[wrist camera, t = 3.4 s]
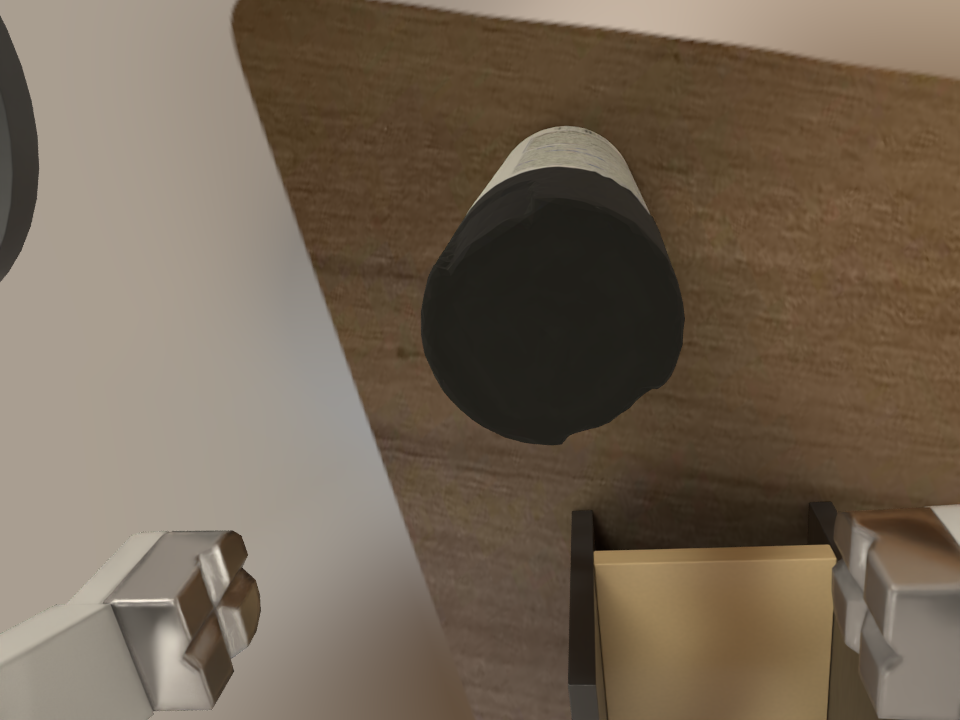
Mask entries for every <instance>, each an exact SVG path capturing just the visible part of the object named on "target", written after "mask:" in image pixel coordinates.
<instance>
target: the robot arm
mask: <svg viewBox="0 0 960 720" xmlns="http://www.w3.org/2000/svg"><path fill="white" fill-rule="evenodd" d="M834 541H835V543H836V545H837V547H838V549H839V551H840V553H841V555H842V558H841V559H840V560H839V561H838V562H837V563H836V564H835V565H834V567H833V568H832V583H831V592H832V599H833V607H834V614H835V617H836V620H837V624H838V627H839V630H840V633H841V635H842V637H843V640H844V642H845V645H847V646H848V647H850V648H851V649H853V650H854V651H855V652H857V653H858V654H859V665H858V674H859V676H860V679H861V681H862V683H863V685H864V687H865V690H866V692H867V694H868V696H869V699H870V701H871V703H872V705H873V707H874V710H875V712H876V714H877V716H878V718H881V719H907V720H960V504H956V505H940V506H925V507H921V508H900V509H879V510H858V511H838V513H837V516H836V520H835V525H834ZM247 556H248V554H247V550H246V547H245V545H244V542H243V539H242V536H241V535H239V534H238V533H236V532H234V531H172V532H167V531H159V532H141V533H138V534H135V535H132V536H131V537H130V538H129V539H128V540H127V541H126V542H125V543H124V544H123V545H122V546H121V547H120V548H119V549H118V550H117V551H116V552H115V553H114V554H113V555H112V557H111V558H110V559H109V560H108V561H107V562H106V563H105V564H104V565H103V566H102V567H101V568H100V569H99V570H98V571H97V572H96V573H95V574H94V575H93V576H92V578H90V580H89V581H88V582H87V583H86V584H85V585H84V586H83V587H82V588H81V589H80V590H79V591H78V592H77V593H76V594H75V595H74V596H73V597H72V598H71V599H70V600H69V602H68V603H67V604H61V605H54V606H52V607H51V608H48V609H47V610H45V611H43V612H41V613H39V614H37V615H35V616H33V617H31V618H29V619H27V620H26V621H24V622H22V623H20V624H18V625H16V626H14V627H12V628H10V629H8V630H6V631H5V632H3V633H1V634H0V720H148V719H149V718H150V717H151V716H152V715H153V714H154V713H153V711H182V710H183V711H185V710H212V709H213V707H214V705H215V704H216V702H217V700H218V698H219V697H220V695H221V693H222V691H223V690H224V688H225V686H226V684H227V683H228V681H229V679H230V677H231V676H232V674H233V672H234V670H233V666H232V662H231V658H233V657H234V656H236V655H237V654H239V653H240V652H241V651H243V650H244V649H246V648H247V647H248V646H249V644H250V642H251V640H252V638H253V636H254V635H255V633H256V631H257V626H258V621H259V617H260V612H261V607H260V594H259V590H258V586H257V583H256V580H255V579H254V578H253V577H252V576H251V575H250V574H248V573H247V572H246V571H245V570H244V569H243V568H242V567H243V565H244V562H245V560H246V558H247Z"/></svg>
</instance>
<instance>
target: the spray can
mask: <svg viewBox="0 0 960 720" xmlns="http://www.w3.org/2000/svg"><path fill="white" fill-rule="evenodd" d="M684 321H685V317H684V308H683V301H682V297H681V293H680V289H679V285H678V281H677V278H676V276H675V273H674V270H673V268H672V265H671V262H670V260H669V257H668V254H667V251H666V249H665V246H664V243H663V240H662V238H661V235H660V232H659V230H658V227H657V225H656V223H655V221H654V219H653V217H652V216H651V215H650V213H649V211H648V208H647V206H646V204H645V202H644V200H643V198H642V196H641V193H640V192H639V189H638V187H637V185H636V183H635V181H634V179H633V176H632V174H631V172H630V170H629V168H628V166H627V164H626V162H625V160H624V159H623V157H622V155H621V154H620V153H619V151H618V150H617V149H616V148H615V147H614V146H613V145H612V144H611V143H610V142H609V141H608V140H607V139H605V138H603V137H602V136H600V135H598V134H596V133H595V132H593V131H590V130H587V129H584V128H579V127H572V126H560V127H553V128H549V129H545V130H542V131H540V132H537V133H535V134H533V135H531V136H530V137H528V138H526V139H525V140H524V141H522V142H521V143H520V144H519V145H518V146H517V147H516V148H515V149H514V150H513V151H512V152H511V153H510V154H509V156H508V157H507V159H506V160H505V162H504V163H503V165H502V166H501V167H500V169H499V170H498V171H497V173H496V174H495V175H494V177H493V178H492V180H491V181H490V182H489V184H488V185H487V186H486V188H485V189H484V191H483V192H482V193H481V195H480V196H479V197H478V199H477V200H476V201H475V203H474V204H473V205H472V207H471V208H470V210H469V211H468V213H467V215H466V216H465V218H464V220H463V221H462V223H461V224H460V226H459V227H458V229H457V231H456V232H455V234H454V235H453V237H452V238H451V240H450V242H449V243H448V245H447V247H446V248H445V250H444V251H443V253H442V254H441V256H440V257H439V259H438V260H437V262H436V264H435V265H434V266H433V268H432V270H431V272H430V274H429V277H428V280H427V284H426V289H425V293H424V298H423V304H422V310H421V336H422V343H423V348H424V353H425V356H426V358H427V361H428V363H429V365H430V367H431V369H432V371H433V374H434V376H435V378H436V380H437V381H438V383H439V385H440V386H441V388H442V390H443V391H444V393H445V394H446V395H447V396H448V397H449V398H450V400H451V401H452V402H453V403H454V404H455V405H456V406H457V407H458V408H459V409H460V410H462V411H463V412H464V413H465V414H466V415H467V416H469V417H470V418H471V419H472V420H474V421H475V422H477V423H478V424H480V425H481V426H483V427H485V428H487V429H489V430H491V431H493V432H495V433H497V434H499V435H501V436H503V437H505V438H509V439H513V440H516V441H520V442H524V443H531V444H542V445H560V444H562V443H563V442H564V441H565V440H566V438H567V437H568V436H569V435H572V434H574V433H577V432H581V431H584V430H588V429H592V428H597V427H599V426H602V425H604V424H606V423H609V422H611V421H612V420H613V419H614V418H616V417H617V416H618V415H620V414H621V413H623V412H624V411H626V410H627V409H629V408H630V407H631V406H632V405H633V404H634V403H635V402H636V400H638V399H639V398H640V397H641V396H642V395H644V394H645V393H646V392H648V391H650V390H651V389H658V388H660V387H661V386H662V385H664V384H665V383H666V382H667V380H668V379H669V378H670V377H671V375H672V373H673V370H674V368H675V366H676V363H677V360H678V357H679V354H680V351H681V348H682V344H683V329H684Z"/></svg>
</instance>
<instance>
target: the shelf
mask: <svg viewBox="0 0 960 720" xmlns="http://www.w3.org/2000/svg"><path fill="white" fill-rule="evenodd" d="M837 513H838V512H837V511H836V509H835V507H834V505H833V503H832V502H810V503H809V521H808V544H807V545H794V546H758V547H721V548H685V549H648V550H612V551H596V547H595V535H594V524H593V512H592V510H586V511H572V528H571V573H570V618H569V663H568V690H569V699H570V707H571V716H572V720H907V719H881V718H878V716H877V714H876V712H875V710H874V707H873V705H872V703H871V701H870V699H869V696H868V694H867V692H866V690H865V687H864V685H863V683H862V681H861V679H860V676H859V674H858V665H859V654H858V653H857V652H855V651H854V650H853V649H851V648H850V647H848V646H847V645H845V642H844V640H843V637H842V635H841V633H840V630H839V627H838V624H837V620H836V617H835V614H834V607H833V599H832V592H831V583H832V568H833V567H834V565H835V564H836V563H837V562H838V561H839V560H840V559H841V558H842V555H841V553H840V551H839V549H838V547H837V545H836V543H835V541H834V525H835V520H836V516H837Z"/></svg>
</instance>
